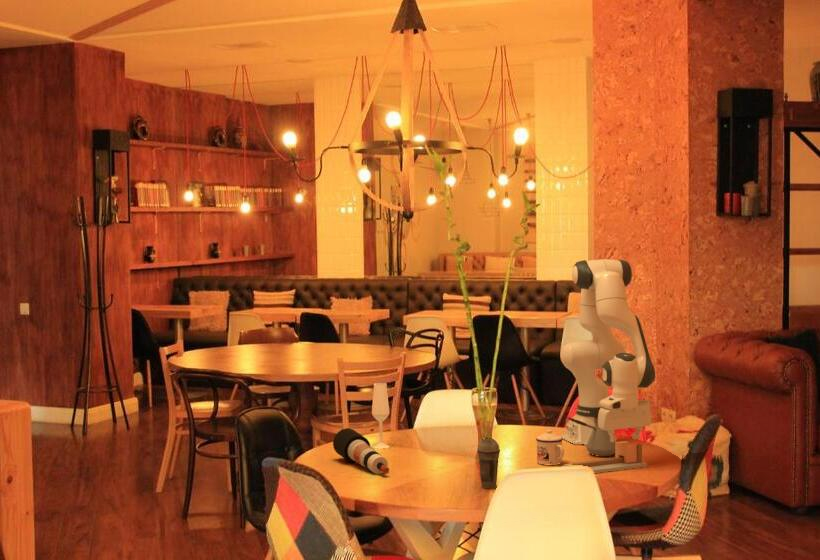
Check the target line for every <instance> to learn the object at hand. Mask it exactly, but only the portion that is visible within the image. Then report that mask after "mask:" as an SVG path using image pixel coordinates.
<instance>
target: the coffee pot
mask: <svg viewBox="0 0 820 560" xmlns="http://www.w3.org/2000/svg"><path fill="white" fill-rule="evenodd" d="M567 420H568V421H570V420H571V421H572V422H573V421H574V422H575V423H577V424H580V425H584V426H587V427H589V428H592V429H593V431H592V433H591V436H590V438H589V441H588V443H587V445H585V446H586V447H585V448H586V450H587V452H588V453H590V454H591V455H592V454H593V455H598V456H609V457H612V456H611V455H613V456H614V454H615V442H611V441H610V436H609V434H608V432H607V431H604V430H601V429H600V428H599V427H598V418H594V419H593V421H594V422H595V426H591V425H588V424H586V423H584V422H581V421H579V420H575V419H574V418H573V417H566V418H565V420H564V422H565V423H566V424H567V423H568V421H567ZM593 455H592V456H593ZM598 456H597V457H598Z"/></svg>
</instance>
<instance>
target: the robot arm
mask: <svg viewBox="0 0 820 560" xmlns="http://www.w3.org/2000/svg"><path fill="white" fill-rule="evenodd" d="M572 267H573V268H572V271H571V278H572V282H573V284H574V285H575V287H576V288H578V289H580V298H579V324H580V327H582V328H583V329H584V330H586V331H588V332H590V333H591V336H592V339H590V340H589V339H588V340H575V341H572V342H566V343H565V344H564V345H563V346H562V348H561V351H560V361H561V362H562V365H563V366H564V367H565V368H566V369H568V371H570V373H572V375H573V377H574V378H575V380H576V383H577V388H578V405H577V406H576V407H575V409H576V411H575V412H576V414H575V415H574V416H573V417H572V418H574V419H575V420H579V421H581V422H584V423H586V424H588V425H591V426H595V422H594V421H593V419H594V418H598V427H599V428H600V429H601V430H604V431H607V432H608V434H609V436H610V441H611V442H618V441H617V439H618V437H617V436H616V435H614V434H615V430H621V429H622V430H623V429H632V428H635V432H634V433H632V439H633V440H635V441H636V440H640V435H641V433H642V431H643V427H649V426H651V424H652V412H651V402H650V401H649V400H648V399H646V398H643V399H639V389H638V388H641V389H647V388H649V387H650V386H651V385H653V383H654V382H655V380H656V370H655V366H654V362H653V361H652V359H651V356H650V352H649V349H648V345H647V342H646V341H647V340H646V338H645V335H644V331H643V328H642V324H641V321H640V319H639V318H638V317H639V316H638V315H635V314H634V313H633V312H632V311H631V309H630V307H629V304H628V298H627V292H626V287H628V286H629V285H630V284H631V282H632V277H633V276H632V275H633V271H632V266H631V264H630V263H629V262H628V261H627V260H623V259H611V258H609V259H608V258H601V259H591V260H579V261H576V262H575V264H573V266H572ZM612 328H613V329H616V330H619V331H621V332H623V333H625V334H627V336H628V337H629V339H630V340H631V344H632V348H633V352H634V354H635V355H634V354H632V353H628V352H627V351H626V348H625V345H624V344H623V343H622V342H621V341H620V340H618V338H617V337H616V336H615V334H614V333H613V330H612ZM599 369H601V378H599V377H597V376H596V375H597V374H596V373H595V370H599ZM609 387H611V388H612V391H611V394H610V395H609ZM567 422H568V423H566V424H565V433H561V434H559V436H561V437H562V438H563V440H564V439H565V440H564V441H566V440H567V441H566V442H568V441H569V442H568V443H570V442H571V443H570V444H572V443H573V444H572V445H582V444H584V446H586V445H587V443H588V441H589V438H590V436H591V433H592V431H593V429H592V428H589V427H587V426H584V425H580V424H577V423H575V422H574V421H573V422H572V421H571V420H570V421H569V420H568V421H567Z"/></svg>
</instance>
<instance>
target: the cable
mask: <svg viewBox="0 0 820 560" xmlns="http://www.w3.org/2000/svg"><path fill="white" fill-rule="evenodd" d="M332 446H333V449H334V451H335V453H336V454H338V455H339V456H340V457H342V458H343V459H345V460H346V461H347V462H348V463H350V464H354V465H355V464H358V465H360V466H361V467H364V468H365V469H367V470H369V471H371V472H372V473H374V474H375V475H381V474H380V473H382V474H383V473H384V474H388V473H390V468H389V463H388V460H387V459H386V458H385V457H384V456H383V455H381V454H380V453H379V452H378V451H376V450H375V448H373V446H371V444H370V441H369V440H368V438H366V437H365V436H364V435H361V434H360V433H359V432H357V431H356V430H355V429H352V428H347V427H346V428H343V429H341V430H339V431H338V432H337V433H336V434H335V435H334V438H333V441H332Z"/></svg>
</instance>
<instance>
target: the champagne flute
mask: <svg viewBox="0 0 820 560" xmlns="http://www.w3.org/2000/svg"><path fill="white" fill-rule="evenodd" d="M389 403H390V402H389V395H388V385H387V383H385V382H377V383H376V382H375V383H373V393H372V405H371V415H372V416H373V418H374V419H375V420H377V422H379V423H378V425H379V427H378V428H379V429H378V430H379V432H378V433H379V442H378V443H376V444H375V445H374V444H373V446H372V448H373V449H377V448H378V449H379V450H384V449H383V448H385V449H389V448H390V447H391V446H390V445H388V444H387V443H385V442H384V440H383V437H384V436H383V434H384V433H383V422H384V421H385V420H386V419H387V418H388V417H389V415H390V406H389ZM378 449H377V450H378Z"/></svg>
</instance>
